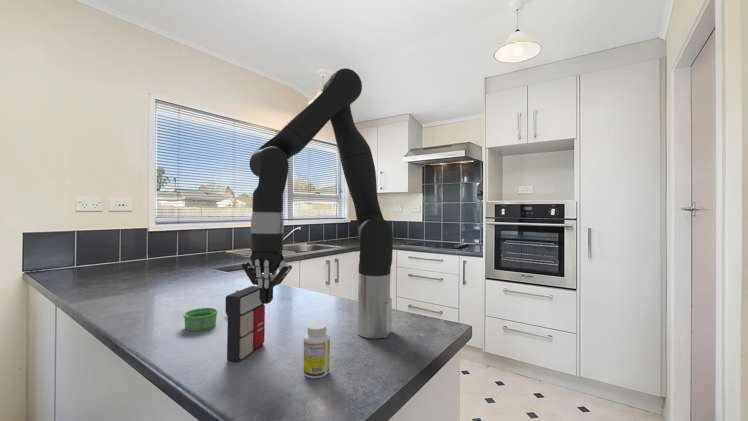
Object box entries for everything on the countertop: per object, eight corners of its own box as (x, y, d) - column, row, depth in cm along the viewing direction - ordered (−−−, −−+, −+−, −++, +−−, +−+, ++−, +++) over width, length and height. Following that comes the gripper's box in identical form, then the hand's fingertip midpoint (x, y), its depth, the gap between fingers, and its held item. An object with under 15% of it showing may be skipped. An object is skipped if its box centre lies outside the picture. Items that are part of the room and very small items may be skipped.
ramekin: (193, 335, 90) (194, 319, 90) (176, 328, 95) (177, 313, 95) (223, 325, 98) (224, 311, 98) (206, 319, 103) (206, 305, 103)
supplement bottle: (318, 364, 74) (318, 319, 74) (334, 372, 70) (335, 325, 70) (297, 373, 70) (298, 326, 70) (314, 382, 66) (315, 332, 66)
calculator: (240, 362, 74) (242, 297, 74) (224, 360, 75) (225, 296, 75) (266, 343, 85) (267, 286, 85) (251, 342, 86) (252, 285, 86)
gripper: (299, 231, 80) (298, 301, 80) (254, 229, 84) (252, 296, 84) (282, 233, 73) (281, 310, 73) (233, 230, 77) (232, 304, 77)
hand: (266, 302), depth 78 cm, fingers closed
